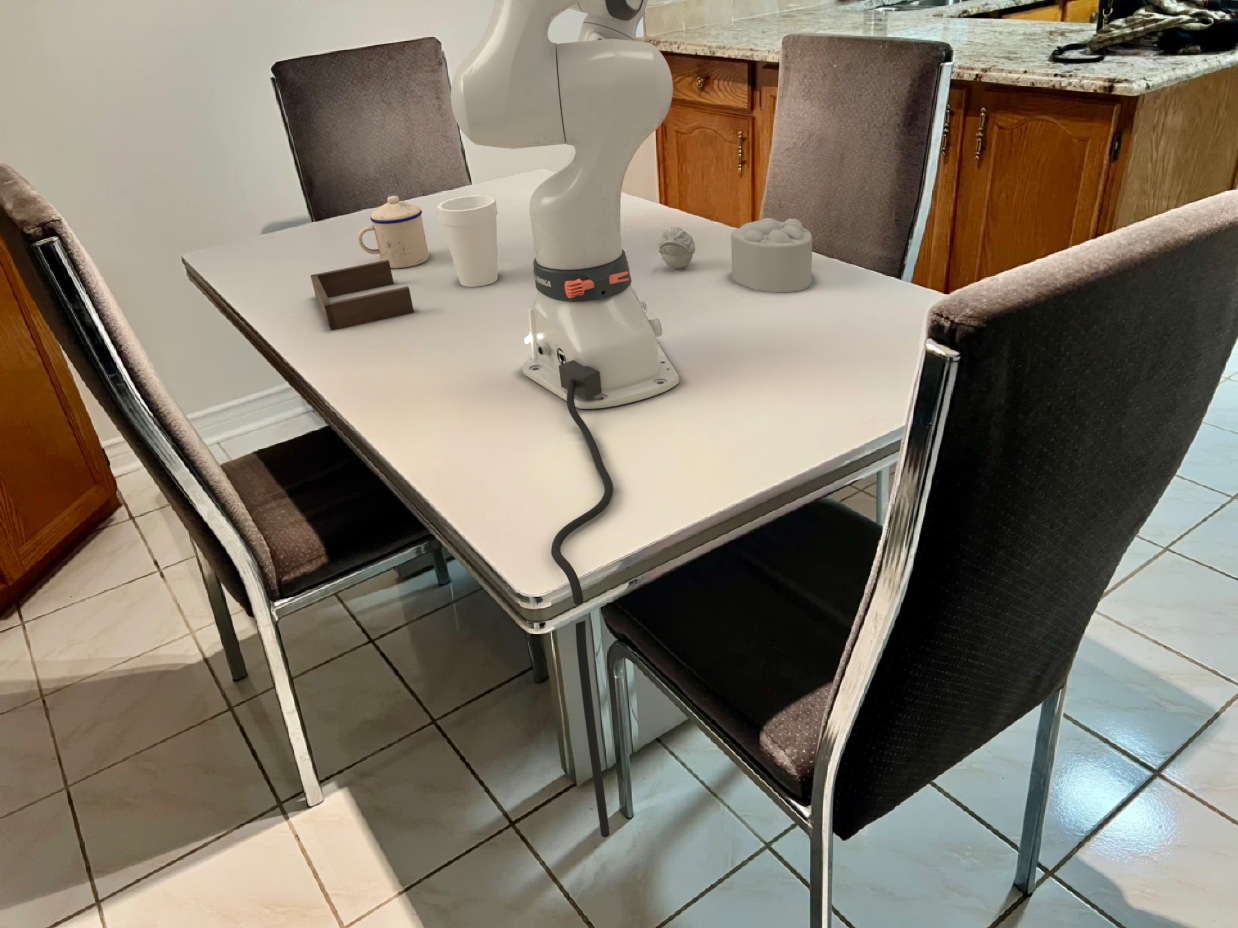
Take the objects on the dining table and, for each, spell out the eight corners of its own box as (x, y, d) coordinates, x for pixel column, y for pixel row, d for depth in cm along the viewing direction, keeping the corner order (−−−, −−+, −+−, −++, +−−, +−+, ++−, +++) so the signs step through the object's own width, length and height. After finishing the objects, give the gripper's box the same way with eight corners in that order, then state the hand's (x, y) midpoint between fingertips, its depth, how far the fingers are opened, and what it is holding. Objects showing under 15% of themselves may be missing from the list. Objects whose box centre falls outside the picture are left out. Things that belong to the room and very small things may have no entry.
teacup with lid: (425, 249, 176) (413, 187, 170) (435, 262, 169) (422, 197, 163) (361, 262, 173) (346, 198, 167) (368, 275, 165) (353, 210, 159)
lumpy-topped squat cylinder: (775, 261, 154) (775, 209, 150) (828, 281, 144) (830, 225, 140) (723, 276, 150) (721, 223, 145) (774, 298, 140) (774, 241, 135)
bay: (414, 312, 148) (409, 287, 146) (330, 330, 144) (324, 305, 142) (392, 282, 161) (388, 259, 159) (316, 297, 157) (310, 275, 155)
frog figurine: (654, 274, 153) (651, 232, 150) (666, 260, 159) (663, 219, 155) (690, 276, 151) (688, 233, 148) (701, 261, 157) (699, 220, 154)
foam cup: (444, 278, 161) (430, 202, 154) (496, 267, 164) (484, 192, 157) (460, 294, 153) (446, 214, 146) (514, 281, 156) (502, 203, 150)
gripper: (561, 45, 158) (537, 127, 161) (612, 43, 141) (584, 136, 144) (593, 59, 161) (569, 140, 164) (647, 59, 144) (619, 149, 147)
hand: (577, 138), depth 154 cm, fingers closed
